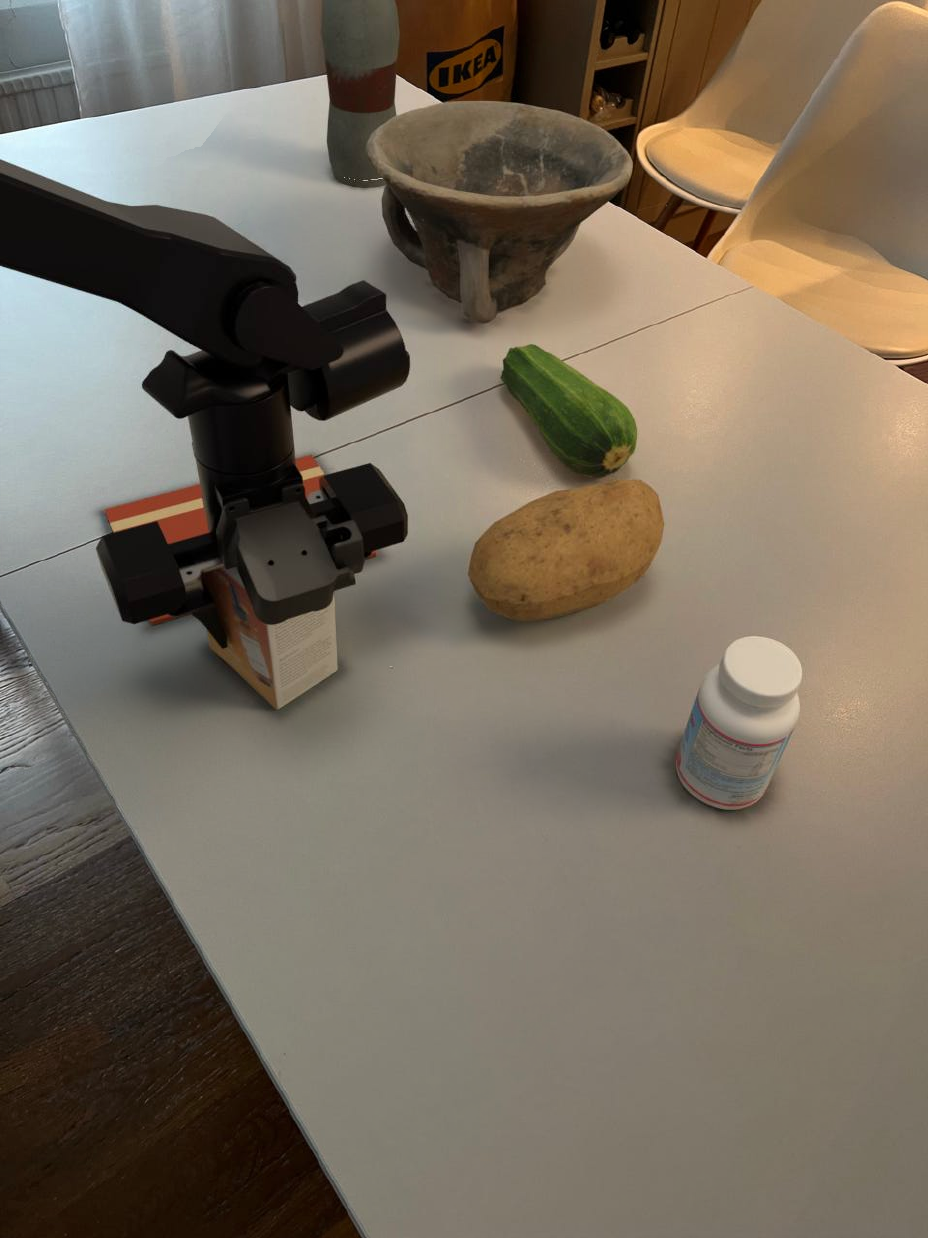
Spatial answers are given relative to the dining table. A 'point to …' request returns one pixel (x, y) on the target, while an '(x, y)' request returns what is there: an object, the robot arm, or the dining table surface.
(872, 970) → the dining table surface
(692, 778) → the pill bottle
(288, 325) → the robot arm
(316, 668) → the small box
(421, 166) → the bowl
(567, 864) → the dining table surface
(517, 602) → the potato
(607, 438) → the vegetable
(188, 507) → the tea towel
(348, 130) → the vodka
